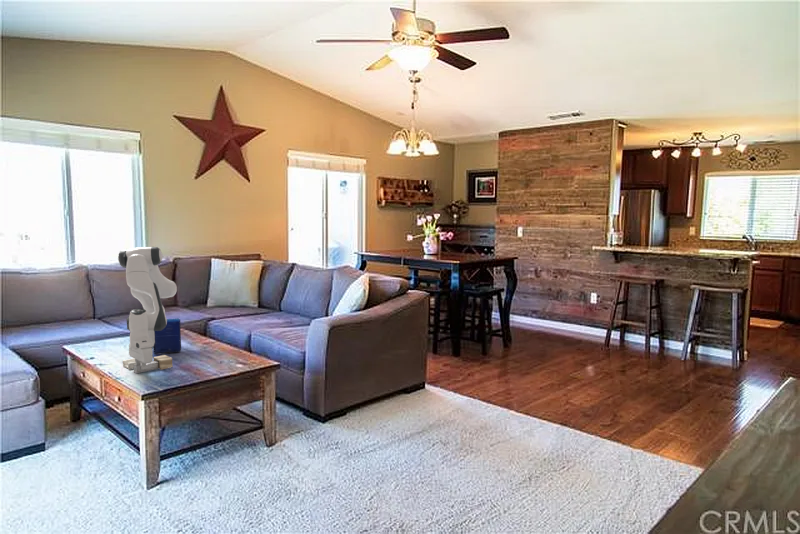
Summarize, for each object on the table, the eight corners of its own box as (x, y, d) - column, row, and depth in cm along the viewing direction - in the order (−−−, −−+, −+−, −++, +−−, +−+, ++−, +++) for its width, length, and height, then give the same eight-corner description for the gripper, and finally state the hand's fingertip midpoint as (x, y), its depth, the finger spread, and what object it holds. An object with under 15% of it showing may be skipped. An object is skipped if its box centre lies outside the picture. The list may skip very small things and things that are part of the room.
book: (153, 355, 295) (151, 320, 293) (154, 352, 300) (153, 318, 298) (180, 353, 299) (179, 319, 296) (181, 351, 304) (180, 317, 301)
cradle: (122, 366, 274) (122, 360, 274) (146, 361, 283) (146, 355, 283) (128, 369, 269) (128, 363, 268) (152, 364, 278) (152, 358, 277)
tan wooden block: (153, 366, 274) (153, 357, 274) (165, 363, 279) (164, 354, 278) (160, 369, 269) (160, 360, 268) (172, 367, 273) (172, 358, 272)
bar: (134, 371, 264) (133, 365, 264) (165, 365, 276) (165, 358, 276) (136, 373, 262) (136, 366, 262) (168, 366, 274) (168, 360, 274)
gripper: (124, 339, 268) (126, 365, 270) (141, 346, 255) (142, 373, 256) (137, 336, 273) (138, 362, 274) (154, 343, 259) (155, 371, 261)
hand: (140, 368), depth 265 cm, fingers closed on bar, 3 cm apart
